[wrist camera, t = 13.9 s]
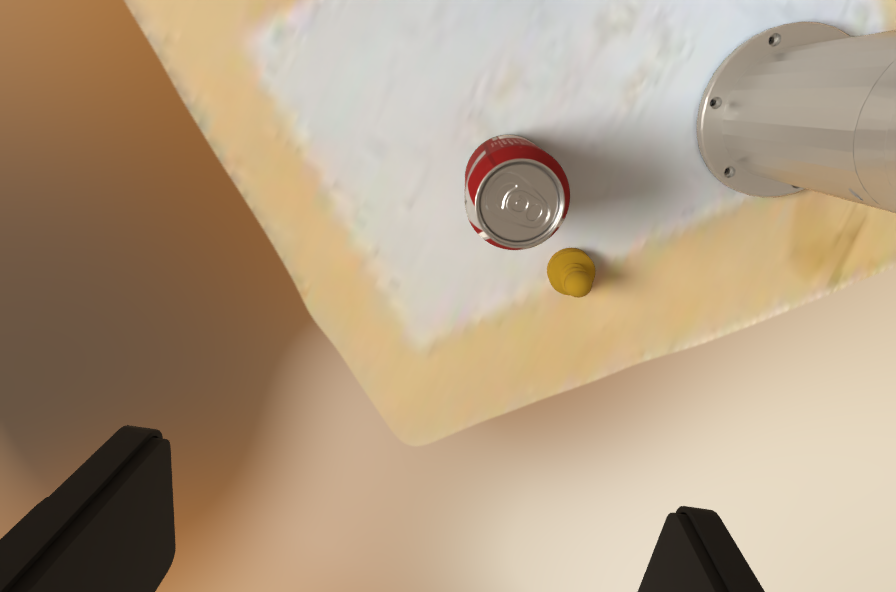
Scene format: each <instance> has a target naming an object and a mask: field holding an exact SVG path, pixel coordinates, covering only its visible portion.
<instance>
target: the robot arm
mask: <svg viewBox="0 0 896 592" xmlns="http://www.w3.org/2000/svg"><path fill="white" fill-rule="evenodd" d="M769 38H771V43H770V44H769ZM711 100H713V101H714V104H713V105H712V106H710V102H711ZM697 140H698V144H699V149H700V153H701V155H702V157H703V159H704V162H705V164H706V166H707V167H708V168H709V170H710V171H711V172H712V174H713V175H714V176H715V177H716V178H717V179H719V180H720V181H721V182H722V183H723V184H724V185H726V186H728V187H730V188H732V189H734V190H736V191H738V192H741V193H745V194H747V195H752V196H758V197H780V196H785V195H790V194H794V193H797V192H799V191H802V190H805V189H808V190H812V191H816V192H820V193H823V194H827V195H831V196H834V197H838V198H842V199H845V200H849V201H853V202H856V203H860V204H864V205H868V206H871V207H875V208H879V209H882V210H886V211H890V212H893V213H896V30H895V31H888V32H882V33H875V34H869V35H862V36H856V37H850V36H849V35H848V34H846V33H844V32H843V31H841V30H839V29H837V28H836V27H833V26H829V25H826V24H822V23H816V22H798V23H791V24H785V25H781V26H777V27H774V28H770V29H768V30H766V31H764V32H761V33H759V34H757V35H755V36H753V37H751V38H750V39H749V40H747V41H746V42H744V43H743V44H741V45H740V46H738V47H737V48H736V49H735V50H734V51H733V52H732V53H731V54H730V55H729V56H728V57H727V58H725V60H724V61H723V62H722V64H721V65H720V66H719V67H718V69H717V70H716V71H715V73H714V74H713V76H712V78H711V79H710V81H709V83H708V85H707V87H706V89H705V91H704V94H703V97H702V100H701V102H700V105H699V111H698V117H697ZM726 168H727V172H726V173H725V174H724V171H725V169H726ZM171 470H172V469H171V450H170V442H169V441H168V440H167V439H163V438H162V434H161V432H160V431H159V430H156V429H150V428H142V427H136V426H129V425H127V426H123V427H122V428H120V429H119V430H118V431H117V432H116V433H115V434H114V435H113V436H112V437H111V438H110V439H109V440H108V441H107V442H105V443H104V444H103V445H102V446H101V447H100V448H99V449H98V450H97V451H96V452H95V453H94V454H93V455H92V456H91V457H90V458H89V459H88V460H87V461H86V462H85V463H84V464H83V465H82V466H80V467H79V468H78V469H77V470H76V471H75V472H74V473H73V474H72V475H71V476H70V477H69V478H68V479H67V480H66V481H65V482H64V483H63V484H62V485H61V486H60V487H58V488H57V489H56V490H55V492H53V493H52V494H51V495H50V496H49V497H47V498H45V499H44V500H43V501H41V502H40V503H39V504H37V505H36V506H35V507H34V508H33V509H32V510H31V511H30V512H29V513H28V514H27V515H26V516H25V517H24V518H22V519H21V521H19V522H18V523H17V524H16V525H15V526H14V527H13V528H12V529H11V530H10V531H9V532H8V533H7V534H6V535H5V536H4V537H3V538H1V539H0V592H155V591H156V589H157V588H158V586H159V585H160V583H161V581H162V580H163V578H164V577H165V575H166V573H167V572H168V570H169V568H170V566H171V564H172V562H173V558H174V554H175V529H174V508H173V489H172V471H171ZM638 592H765V591H764V590H763V588H762V587H761V585H760V583H759V582H758V580H757V578H756V577H755V575H754V573H753V572H752V570H751V568H750V567H749V565H748V563H747V562H746V560H745V558H744V557H743V555H742V553H741V552H740V550H739V548H738V547H737V545H736V543H735V542H734V540H733V538H732V537H731V535H730V533H729V532H728V530H727V529H726V527H725V525H724V523H723V522H722V520H721V518H720V517H719V516H718V514H717V513H716V512H714V511H713V510H707V509H701V508H694V507H686V506H681V507H679V508H678V509H677V511H676V513H670V514H669V515H668V516H667V518H666V521H665V523H664V526H663V529H662V531H661V533H660V536H659V539H658V541H657V544H656V546H655V549H654V552H653V554H652V557H651V559H650V562H649V564H648V567H647V570H646V572H645V574H644V577H643V580H642V582H641V585H640V587H639V590H638Z"/></svg>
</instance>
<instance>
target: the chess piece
mask: <svg viewBox="0 0 896 592" xmlns="http://www.w3.org/2000/svg"><path fill="white" fill-rule="evenodd" d="M547 274H548V278H549V280H550V283H551V285H552V286H553V288H554V289H555V290H556V291H558V292H560V293H562V294H565V295H571V296H574V297H583V296H585V295H587V294H588V293H589V292H590V290H591V287H592V282H593V280H594V277H595V266H594V264H593V262H592V260H591V259H590V258H589V257H588V255H587V254H586V253H585V252H583V251H581V250H579V249H577V248H566V249H562V250H560V251H558V252H557V253H555V254H554V255H553V256H552V258H551V259H550V261H549V263H548V266H547Z"/></svg>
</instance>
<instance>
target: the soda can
mask: <svg viewBox="0 0 896 592" xmlns="http://www.w3.org/2000/svg"><path fill="white" fill-rule="evenodd" d="M569 202H570V190H569V184H568V180H567V177H566V175H565V173H564V171H563V169H562V167H561V166H560V165H559V163H558V162H557V161H556V160H555V159H554V158H553V157H552V156H550V155H549V154H548V153H546V152H545V151H543V150H542V149H541V148H539V147H538V146H536V145H535V144H533V143H532V142H531V141H529V140H527V139H525V138H523V137H520V136H516V135H501V136H496V137H493V138H491V139H489V140H487V141H485V142H484V143H483V144H481V145H480V146H479V147H478V148H477V149H476V150H475V151H474V153H473V154H472V156H471V157H470V159H469V162H468V164H467V167H466V172H465V208H466V213H467V216H468V219H469V221H470V223H471V225H472V227H473V228H474V230H475V231H476V232H477V233H478V234H479V235H480V236H481V237H482V238H483V239H484V240H485V241H487V242H488V243H490V244H492V245H494V246H497V247H499V248H503V249H508V250H523V249H528V248H531V247H534V246H537V245H539V244H541V243H543V242H544V241H546V240H547V239H548V238H550V237H551V236H552V235H553V234H554V233H555V232H556V231H557V230H558V228H559V227H560V226H561V224H562V223H563V221H564V219H565V217H566V214H567V211H568V207H569Z"/></svg>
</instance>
